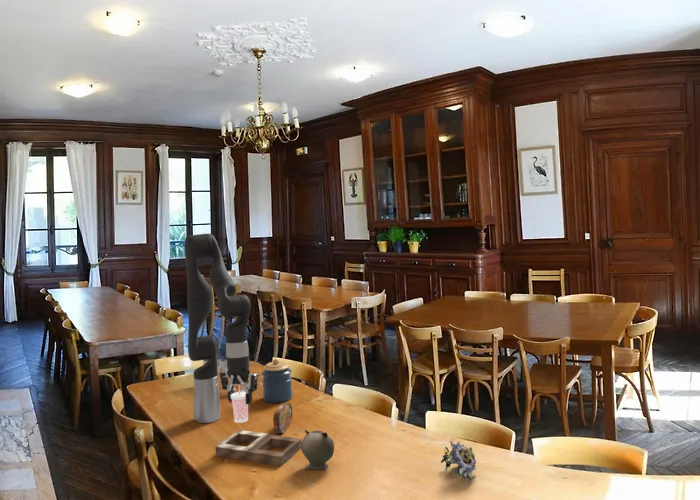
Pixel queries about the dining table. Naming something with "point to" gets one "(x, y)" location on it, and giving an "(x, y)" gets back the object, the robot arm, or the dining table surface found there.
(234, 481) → the dining table surface
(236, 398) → the beverage cup
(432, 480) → the dining table surface
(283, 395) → the canister
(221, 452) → the pocket rack
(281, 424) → the tin
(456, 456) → the passion flower
